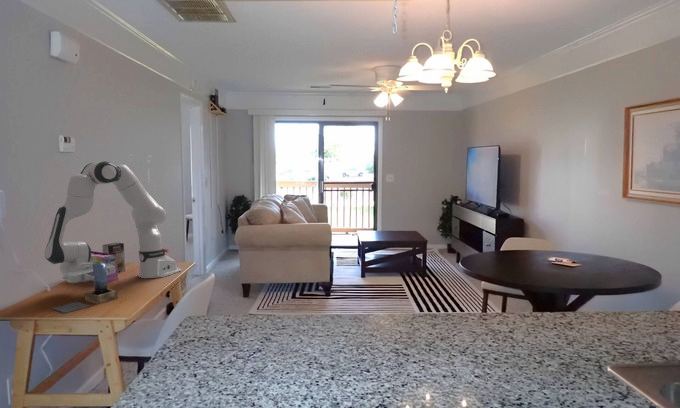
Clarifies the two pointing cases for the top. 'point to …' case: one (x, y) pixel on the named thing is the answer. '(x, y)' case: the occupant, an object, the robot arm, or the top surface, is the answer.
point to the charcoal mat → (71, 307)
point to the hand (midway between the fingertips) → (100, 275)
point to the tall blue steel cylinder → (100, 278)
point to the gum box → (106, 259)
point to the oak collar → (101, 296)
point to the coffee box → (118, 250)
